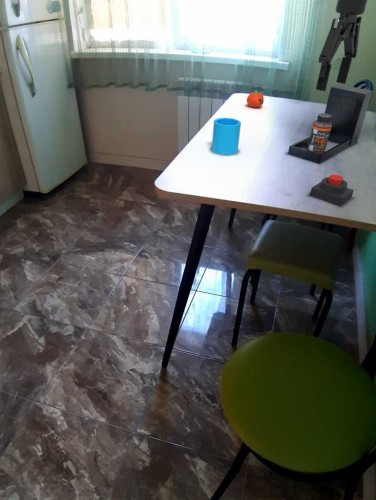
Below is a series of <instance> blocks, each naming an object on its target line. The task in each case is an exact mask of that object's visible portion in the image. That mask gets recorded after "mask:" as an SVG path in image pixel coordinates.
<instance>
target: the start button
mask: <svg viewBox="0 0 376 500" xmlns="http://www.w3.org/2000/svg"><path fill="white" fill-rule="evenodd" d="M328 177H329V179H328V182H327V183H329V184H331V185H336V186H339V185H341V184H342V181H343V180H344V177H343V176H342V175H339V174H329V176H328Z"/></svg>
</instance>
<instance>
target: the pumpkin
mask: <svg viewBox="0 0 376 500" xmlns="http://www.w3.org/2000/svg"><path fill="white" fill-rule="evenodd" d="M264 100H265V99H264V95H263V94H262V93H260V92H258V89H255V91H254V92H250V93H249V94H248V96H247V97H246V103H247V105H248V106H249V107H251V108H260V107H262V106H263V104H264V102H265V101H264Z"/></svg>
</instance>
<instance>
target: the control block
mask: <svg viewBox="0 0 376 500" xmlns="http://www.w3.org/2000/svg"><path fill="white" fill-rule="evenodd" d="M328 179H329V176H328V177H324V178H322V179H321V181H320V182H318V183H316V184H315V185H313V186H312V187H311V189H310V192H309V196H310V197H314V198H316V199H319V200H322V201H325V202H328V203H330V204H333V205H337V206H339V207H341V206H343V205H344V204H345V203H347V202H348V201H349V200H351V199H352V197H353V194H354V191H355V190H354V189H352V188H349V187H348V182H347V181H346V180H345V179H343V181H342V184H341V185H339V186H336V185H331V184H329V183H327V182H328Z"/></svg>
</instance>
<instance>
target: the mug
mask: <svg viewBox="0 0 376 500" xmlns="http://www.w3.org/2000/svg"><path fill="white" fill-rule="evenodd" d="M241 127H242V122H241V121H240V120H238V119H235V118H232V117H218V118H215V119H214V120H213V128H212V139H211V151H212V152H213V153H215V154H217V155H219V156H221V155H222V156H232V155H236V154H237V153H238V152H239V144H240V143H239V142H240V137H241V136H240V135H241V134H240V133H241Z"/></svg>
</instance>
